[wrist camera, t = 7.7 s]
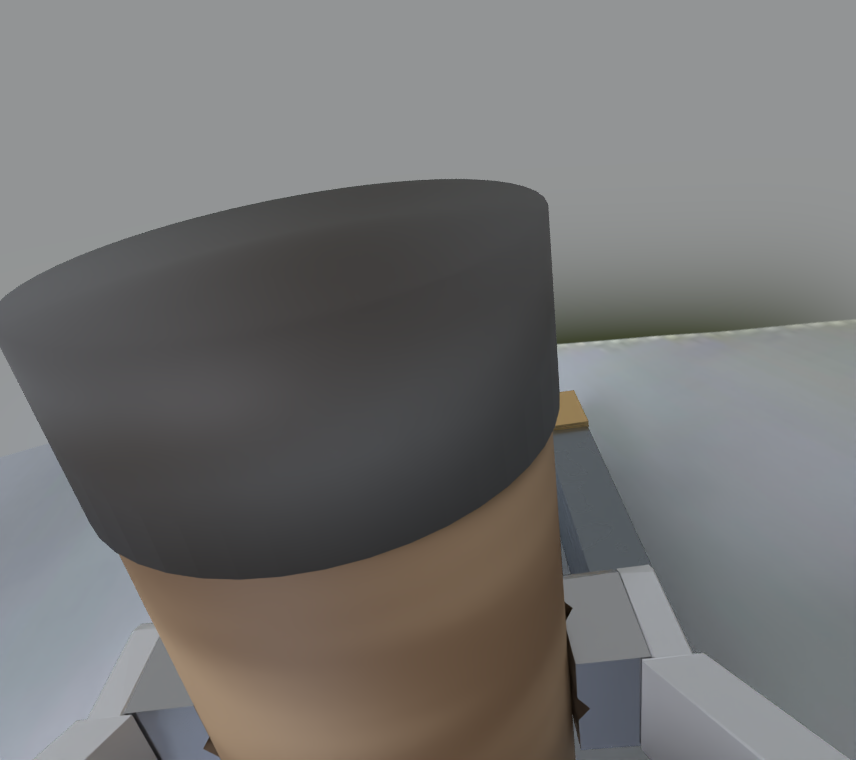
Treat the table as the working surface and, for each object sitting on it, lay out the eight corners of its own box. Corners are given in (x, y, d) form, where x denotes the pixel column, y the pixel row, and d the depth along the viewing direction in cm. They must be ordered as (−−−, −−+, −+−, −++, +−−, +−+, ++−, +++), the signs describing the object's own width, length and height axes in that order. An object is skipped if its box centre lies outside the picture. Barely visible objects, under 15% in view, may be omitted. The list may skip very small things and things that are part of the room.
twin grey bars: (284, 746, 21) (247, 662, 19) (336, 493, 33) (317, 426, 31) (674, 704, 20) (677, 611, 18) (578, 460, 33) (574, 390, 31)
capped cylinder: (351, 1180, 12) (-187, 395, 4) (371, 862, 16) (141, 219, 9) (629, 1163, 11) (618, 279, 4) (568, 844, 16) (510, 161, 8)
